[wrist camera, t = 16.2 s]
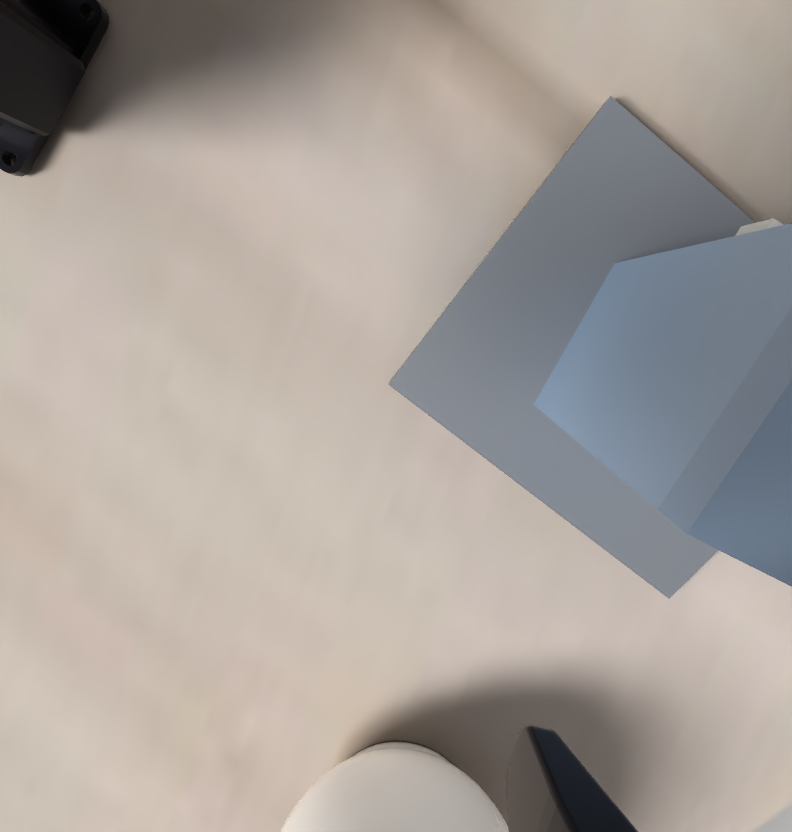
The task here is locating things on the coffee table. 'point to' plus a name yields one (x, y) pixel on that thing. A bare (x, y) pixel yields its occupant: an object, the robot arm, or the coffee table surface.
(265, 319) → the coffee table surface
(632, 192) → the flat square base plate
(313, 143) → the coffee table surface
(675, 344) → the tall blue rectangular block
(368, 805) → the lidded jar
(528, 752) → the robot arm
